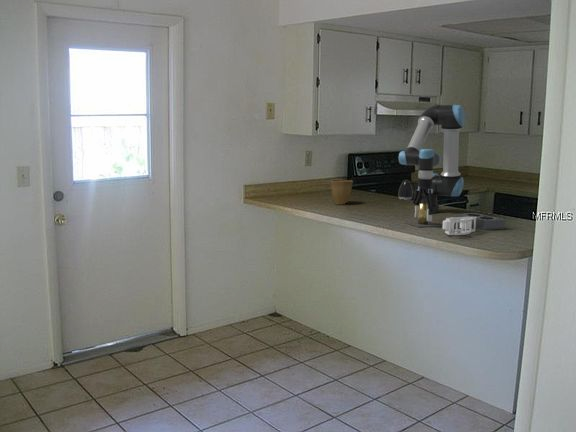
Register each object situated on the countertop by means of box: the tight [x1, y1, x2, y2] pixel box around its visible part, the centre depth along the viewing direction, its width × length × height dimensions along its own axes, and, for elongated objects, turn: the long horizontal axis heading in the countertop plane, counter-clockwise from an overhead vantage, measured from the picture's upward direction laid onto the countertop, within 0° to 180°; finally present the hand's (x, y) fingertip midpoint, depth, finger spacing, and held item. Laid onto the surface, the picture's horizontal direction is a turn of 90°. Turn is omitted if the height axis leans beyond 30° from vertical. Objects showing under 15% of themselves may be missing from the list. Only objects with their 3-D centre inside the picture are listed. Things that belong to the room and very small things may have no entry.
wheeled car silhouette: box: [442, 216, 477, 236], centre depth 302 cm, size 20×11×7 cm, turn 115°
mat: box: [404, 221, 442, 228], centre depth 323 cm, size 14×14×1 cm
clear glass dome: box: [397, 179, 414, 201], centre depth 420 cm, size 10×10×15 cm
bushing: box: [417, 203, 429, 225], centre depth 322 cm, size 5×5×11 cm
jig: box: [455, 212, 506, 231], centre depth 323 cm, size 24×13×5 cm, turn 20°
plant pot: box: [330, 179, 354, 204], centre depth 397 cm, size 15×15×16 cm
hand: (423, 219), depth 322 cm, fingers open, 11 cm apart
